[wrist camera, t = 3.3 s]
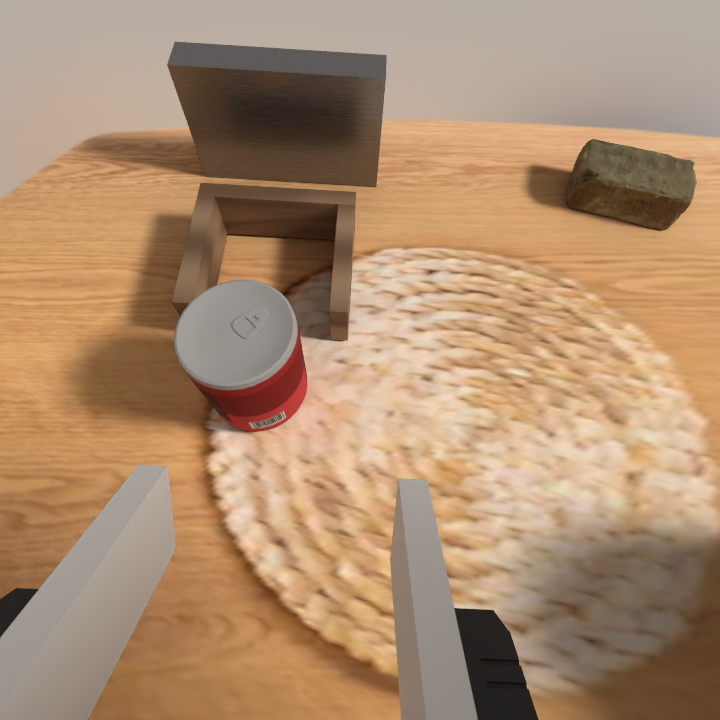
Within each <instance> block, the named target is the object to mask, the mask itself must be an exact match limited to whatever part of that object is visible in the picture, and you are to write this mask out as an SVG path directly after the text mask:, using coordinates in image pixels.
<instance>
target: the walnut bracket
mask: <svg viewBox="0 0 720 720" xmlns="http://www.w3.org/2000/svg"><path fill="white" fill-rule="evenodd" d="M355 202H356V192H344V191H328V190H311V189H294V188H278V187H261V186H244V185H228V184H211V183H201V184H200V188H199V192H198V196H197V200H196V204H195V208H194V212H193V217H192V221H191V225H190V229H189V233H188V237H187V241H186V245H185V249H184V253H183V257H182V262H181V266H180V270H179V274H178V278H177V282H176V286H175V290H174V294H173V298H172V304H173V305H174V307H175V308H176V310H177V312H178V313H179V315H180V316H181V314H182V313H183V311H184V310H185V308H186V307H187V306H188V305H189V303H190V302H191V301H192V300H194V299H195V298H196V297H197V296H198V295H199V294H201V293H202V292H204V291H206V290H207V289H209V288H211V287H213V286H216V285H217V282H218V277H219V272H220V267H221V262H222V257H223V252H224V247H225V242H226V237H227V234H244V235H261V236H278V237H295V238H312V239H329V240H335V249H334V261H333V273H332V285H331V297H330V309H329V315H330V335H331V339H333V340H348V325H349V309H350V293H351V277H352V261H353V245H354V229H355Z"/></svg>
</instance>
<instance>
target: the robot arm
mask: <svg viewBox="0 0 720 720" xmlns="http://www.w3.org/2000/svg"><path fill="white" fill-rule="evenodd" d="M175 550H176V543H175V534H174V524H173V515H172V505H171V496H170V487H169V477H168V468H167V466H152V465H138V466H137V467H136V468H135V470H134V471H133V472H132V473H131V475H130V476H129V477H128V478H127V480H126V481H125V482H124V483H123V485H122V486H121V487H120V488H119V490H118V491H117V492H116V493H115V495H114V496H113V497H112V498H111V500H110V501H109V502H108V503H107V505H106V506H105V507H104V508H103V510H102V511H101V512H100V513H99V515H98V516H97V517H96V518H95V520H94V521H93V522H92V523H91V525H90V526H89V527H88V528H87V530H86V531H85V532H84V533H83V535H82V536H81V537H80V538H79V540H78V541H77V542H76V543H75V545H74V546H73V547H72V549H71V550H70V551H69V552H68V554H67V555H66V556H65V557H64V559H63V560H62V561H61V562H60V564H59V565H58V566H57V567H56V569H55V570H54V571H53V572H52V574H51V575H50V576H49V577H48V579H47V580H46V581H45V582H44V584H43V585H42V586H41V587H40V589H21V588H16V589H14V590H13V591H11V592H10V593H9V594H7V595H6V596H4V597H3V598H2V599H0V720H88V719H89V717H90V715H91V713H92V711H93V709H94V707H95V705H96V703H97V701H98V700H99V698H100V696H101V694H102V692H103V690H104V688H105V686H106V684H107V682H108V680H109V678H110V676H111V674H112V672H113V670H114V668H115V666H116V664H117V663H118V661H119V659H120V657H121V655H122V653H123V651H124V649H125V647H126V645H127V643H128V641H129V639H130V637H131V635H132V633H133V631H134V629H135V627H136V625H137V624H138V622H139V620H140V618H141V616H142V614H143V612H144V610H145V608H146V606H147V604H148V602H149V600H150V598H151V596H152V594H153V592H154V590H155V588H156V587H157V585H158V583H159V581H160V579H161V577H162V575H163V573H164V571H165V569H166V567H167V565H168V563H169V561H170V559H171V557H172V555H173V553H174V551H175ZM390 563H391V577H392V592H393V606H394V620H395V635H396V649H397V663H398V678H399V692H400V707H401V720H538V717H537V714H536V711H535V708H534V705H533V702H532V699H531V696H530V692H529V689H527V686H526V680H525V677H524V674H523V671H522V668H521V666H520V665H519V659H518V655H517V652H516V649H515V646H514V643H513V640H512V637H511V634H510V632H509V631H508V630H507V628H506V627H505V626H504V624H503V623H502V622H501V620H500V619H499V618H498V616H497V615H496V614H495V612H494V611H493V610H480V609H459V608H454V605H453V600H452V595H451V591H450V586H449V581H448V576H447V572H446V567H445V562H444V558H443V553H442V548H441V543H440V539H439V534H438V529H437V524H436V520H435V515H434V510H433V506H432V501H431V496H430V491H429V487H428V482H427V480H418V479H399V478H398V488H397V498H396V508H395V517H394V527H393V537H392V547H391V557H390Z"/></svg>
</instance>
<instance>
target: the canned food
mask: <svg viewBox="0 0 720 720" xmlns="http://www.w3.org/2000/svg"><path fill="white" fill-rule="evenodd" d="M174 346H175V352H176V354H177V357H178V359H179V362H180V364H181V366H182V367H183V369H184V370H185V371H186V373H187V374H188V376H189V377H190V378H191V380H192V381H193V382H194V384H195V385H196V386H197V387H198V388H199V390H200V391H201V392H202V393H203V395H204V396H205V397H206V398H207V399H208V401H209V402H210V403H211V404H212V406H213V407H214V408H215V409H216V411H217V412H218V413H219V414H220V415H221V417H222V418H223V419H224V420H225V421H227V422H228V423H229V424H230V425H232V426H234V427H236V428H239V429H242V430H246V431H264V430H269V429H272V428H275V427H277V426H279V425H281V424H283V423H284V422H286V421H287V420H288V419H290V418H291V417H292V416H293V415H294V413H295V412H296V411H297V410H298V409H299V407H300V406H301V404H302V402H303V400H304V397H305V395H306V390H307V374H306V368H305V362H304V357H303V351H302V345H301V339H300V333H299V329H298V324H297V320H296V316H295V313H294V311H293V309H292V307H291V305H290V303H289V301H288V300H287V299H286V298H285V297H284V296H283V294H282V293H280V292H279V291H278V290H276V289H275V288H273V287H271V286H269V285H267V284H265V283H261V282H257V281H251V280H235V281H229V282H225V283H221V284H218V285H216V286H213V287H211V288H209V289H207V290H206V291H204V292H202V293H201V294H199V295H198V296H197V297H196V298H195V299H194V300H192V301H191V302H190V303H189V305H188V306H187V307H186V308H185V310H184V311H183V313H182V314H181V316H180V318H179V320H178V323H177V326H176V329H175V335H174Z"/></svg>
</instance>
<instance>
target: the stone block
mask: <svg viewBox="0 0 720 720" xmlns="http://www.w3.org/2000/svg"><path fill="white" fill-rule="evenodd" d="M693 165H694V162H692V161H691V160H683V159H679V158H675V157H672V156H670V155H668V154H663V153H658V152H653V151H647V150H643V149H639V148H634V147H629V146H624V145H619V144H613V143H608V142H604V141H600V140H596V139H592V140H590V141H588V142H587V143H586V145H585V146H584V147H583V148H582V150H581V152H580V153H579V155H578V158H577V160H576V162H575V165H574V168H573V171H572V174H571V178H570V182H569V186H568V191H567V196H566V200H567V203H568V205H569V208H575V209H578V210H582V211H587V212H591V213H596V214H599V215H602V216H609V217H615V218H617V219H619V220H621V221H628V222H632V223H635V224H639V225H642V226H645V227H650V228H656V229H662V230H666V229H668V228H669V227H670V226H671V225H672V224H673V223H674V222H675V221H676V219H678V218H679V216H680V215H681V214H682V213H683V212H684V211H685V210H686V209H687V208H688V206H689V205H690V204H691V202H692V199H693V195H694V189H695V187H696V183H697V181H696V177H695V172H694V170H693Z"/></svg>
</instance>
